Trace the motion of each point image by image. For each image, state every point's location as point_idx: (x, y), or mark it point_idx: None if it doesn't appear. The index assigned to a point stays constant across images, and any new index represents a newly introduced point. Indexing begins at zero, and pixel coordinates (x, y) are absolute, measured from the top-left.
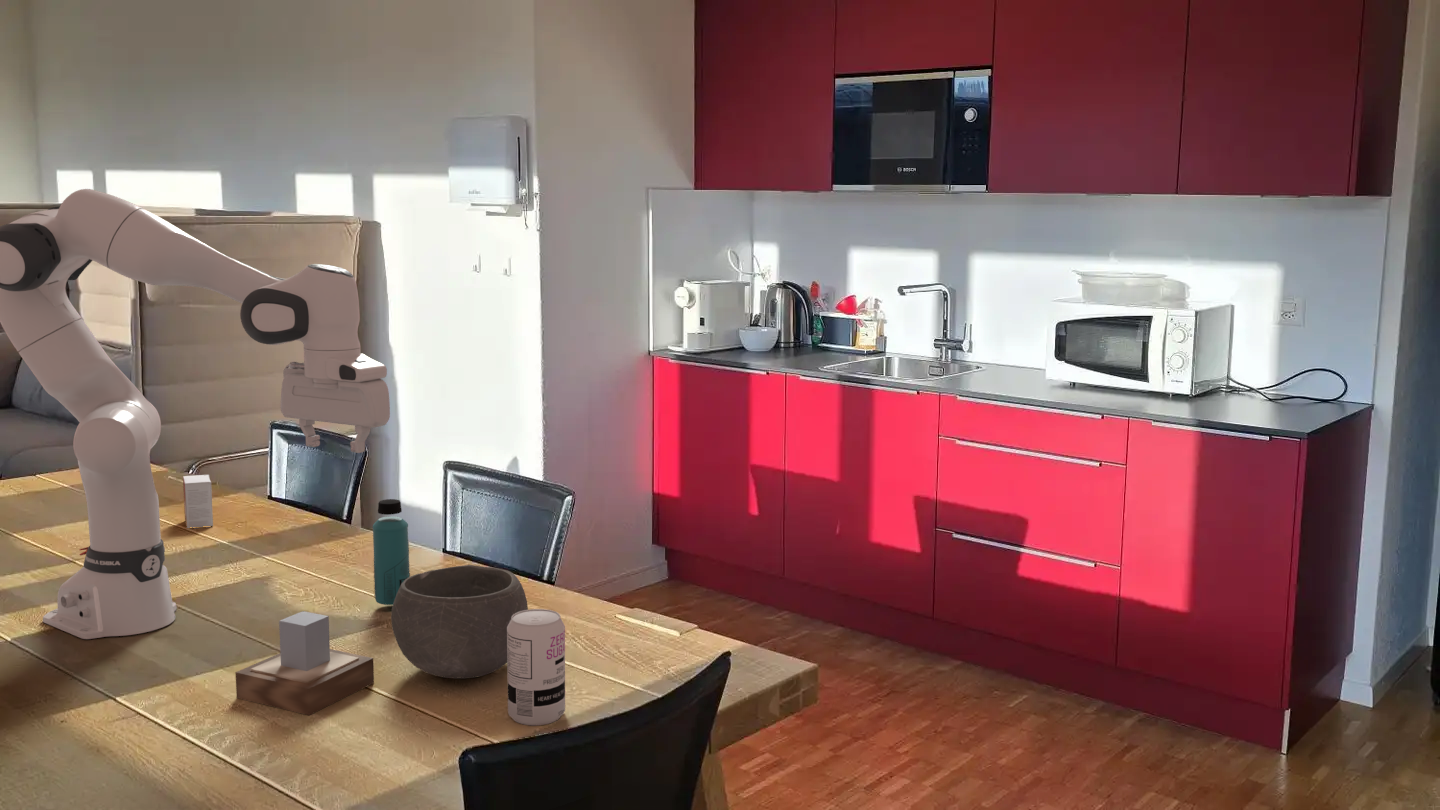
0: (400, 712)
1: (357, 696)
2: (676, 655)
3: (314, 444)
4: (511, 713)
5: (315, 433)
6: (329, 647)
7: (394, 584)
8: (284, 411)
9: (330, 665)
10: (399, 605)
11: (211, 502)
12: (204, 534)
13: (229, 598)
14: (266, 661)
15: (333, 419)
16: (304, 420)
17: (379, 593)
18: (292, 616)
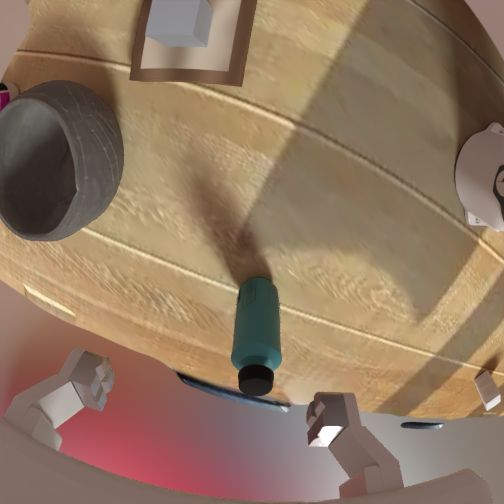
0: (85, 43)
1: None
2: (4, 248)
3: (316, 402)
4: (11, 83)
5: (331, 450)
6: (161, 43)
7: (244, 295)
8: (474, 488)
9: None
10: (62, 93)
11: (480, 392)
12: (477, 368)
13: (433, 261)
14: (243, 19)
15: (127, 497)
16: (374, 489)
17: (264, 285)
18: (194, 11)
